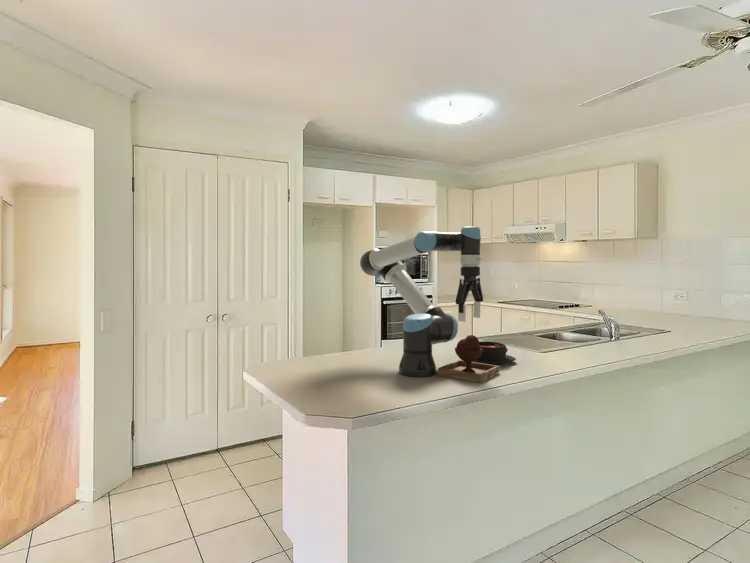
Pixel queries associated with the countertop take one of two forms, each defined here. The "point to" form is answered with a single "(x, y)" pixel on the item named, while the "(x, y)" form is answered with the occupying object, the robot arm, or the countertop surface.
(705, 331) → the countertop surface
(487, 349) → the casserole
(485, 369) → the walnut tray
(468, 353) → the ice cream bowl
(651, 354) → the countertop surface
